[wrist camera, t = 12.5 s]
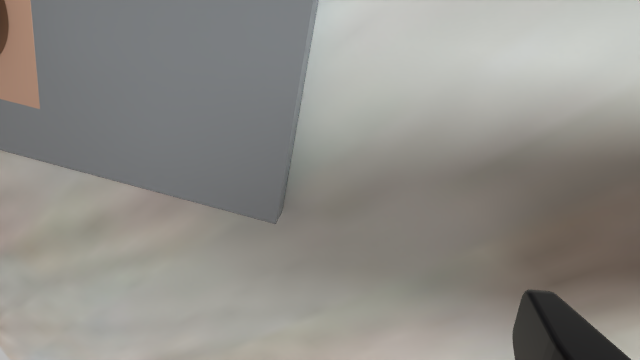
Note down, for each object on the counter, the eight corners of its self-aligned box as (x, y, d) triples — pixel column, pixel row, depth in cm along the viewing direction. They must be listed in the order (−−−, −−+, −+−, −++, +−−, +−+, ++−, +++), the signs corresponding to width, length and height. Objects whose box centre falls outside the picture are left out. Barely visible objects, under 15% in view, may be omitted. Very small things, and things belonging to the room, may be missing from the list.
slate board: (334, -95, 17) (329, -95, 16) (282, 211, 23) (275, 224, 22) (-158, -200, 19) (-188, -205, 18) (-90, 112, 24) (-110, 120, 24)
